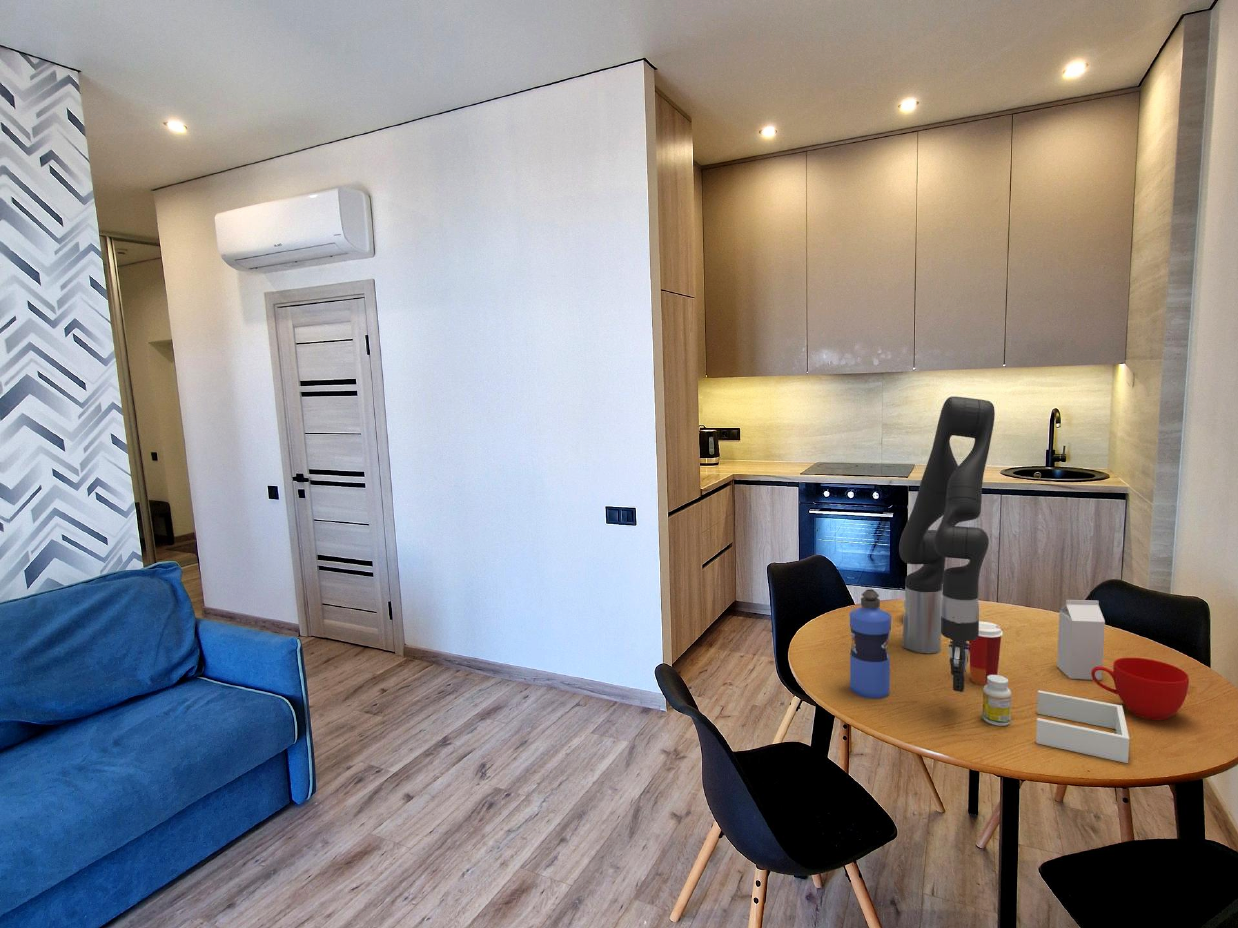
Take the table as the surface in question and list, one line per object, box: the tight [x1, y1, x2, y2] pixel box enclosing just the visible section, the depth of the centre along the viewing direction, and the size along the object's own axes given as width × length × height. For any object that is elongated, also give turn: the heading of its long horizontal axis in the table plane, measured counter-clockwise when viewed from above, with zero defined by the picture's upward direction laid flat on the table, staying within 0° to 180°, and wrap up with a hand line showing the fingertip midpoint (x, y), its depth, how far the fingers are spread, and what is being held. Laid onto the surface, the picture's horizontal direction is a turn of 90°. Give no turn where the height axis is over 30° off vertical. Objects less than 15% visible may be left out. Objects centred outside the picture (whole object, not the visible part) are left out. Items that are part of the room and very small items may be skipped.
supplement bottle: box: [982, 674, 1012, 727], centre depth 145 cm, size 5×5×10 cm
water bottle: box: [849, 588, 892, 700], centre depth 160 cm, size 9×9×25 cm
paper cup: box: [968, 620, 1003, 686], centre depth 164 cm, size 8×8×14 cm
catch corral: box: [1035, 690, 1130, 764], centre depth 138 cm, size 15×15×5 cm
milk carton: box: [1056, 599, 1106, 681], centre depth 165 cm, size 7×7×19 cm
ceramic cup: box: [1091, 657, 1190, 721], centre depth 147 cm, size 13×17×10 cm
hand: (958, 690), depth 149 cm, fingers closed
